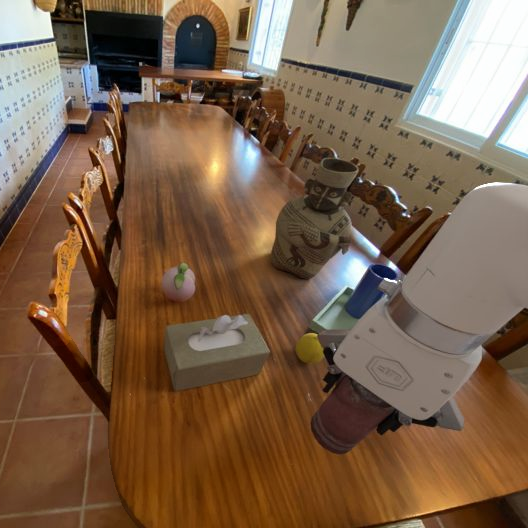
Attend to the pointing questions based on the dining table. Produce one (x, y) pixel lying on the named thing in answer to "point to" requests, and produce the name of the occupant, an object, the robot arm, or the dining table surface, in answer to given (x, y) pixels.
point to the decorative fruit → (179, 283)
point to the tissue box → (214, 351)
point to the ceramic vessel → (315, 221)
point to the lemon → (309, 349)
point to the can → (348, 416)
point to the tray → (335, 314)
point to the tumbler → (369, 289)
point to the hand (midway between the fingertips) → (354, 404)
